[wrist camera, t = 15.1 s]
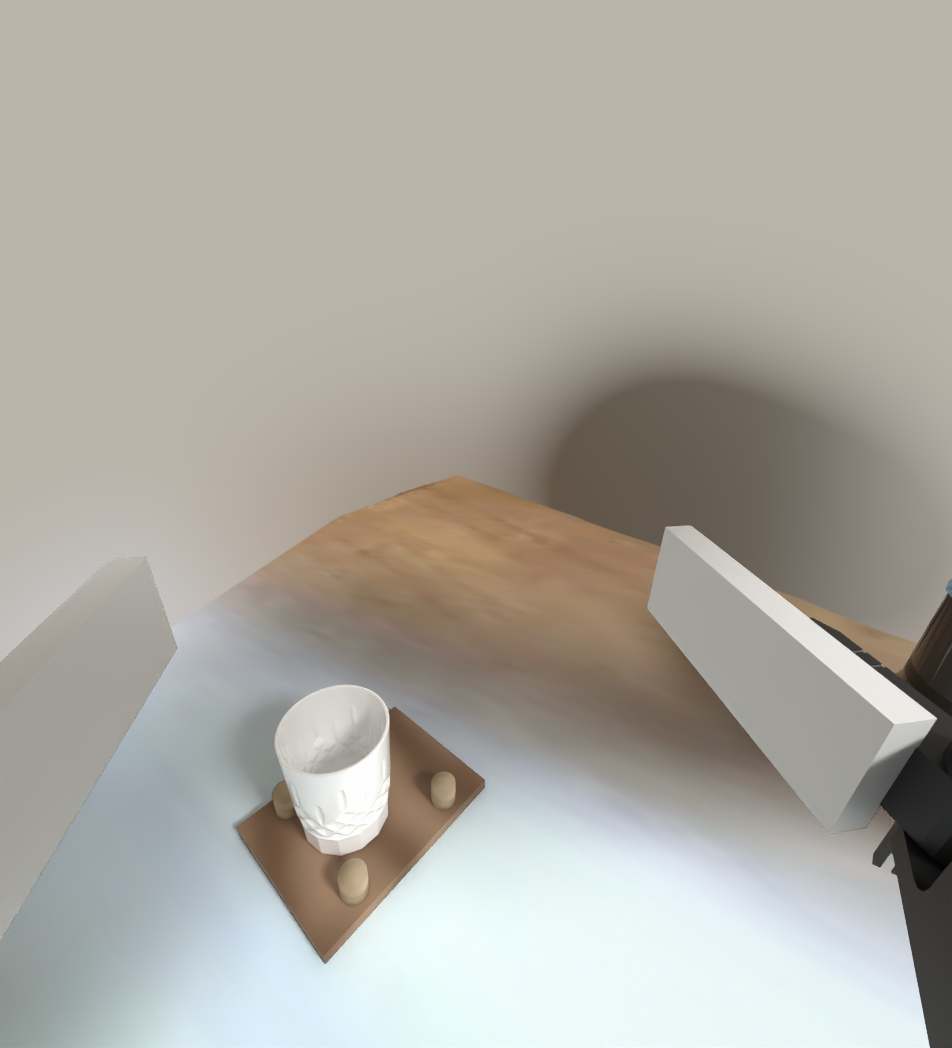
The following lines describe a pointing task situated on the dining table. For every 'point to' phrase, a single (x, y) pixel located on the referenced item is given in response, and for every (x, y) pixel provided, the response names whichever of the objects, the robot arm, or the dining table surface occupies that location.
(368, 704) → the white cup
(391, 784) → the holder
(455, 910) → the dining table surface
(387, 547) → the dining table surface
